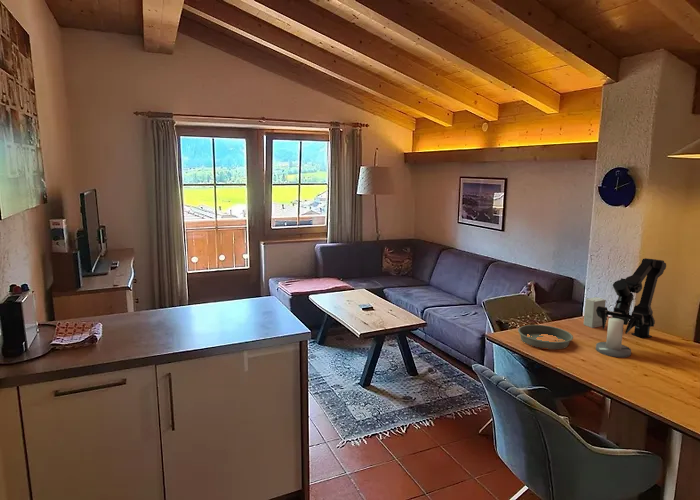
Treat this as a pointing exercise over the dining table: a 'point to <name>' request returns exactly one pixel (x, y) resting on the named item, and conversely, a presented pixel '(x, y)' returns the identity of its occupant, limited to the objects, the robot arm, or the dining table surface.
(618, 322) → the white post
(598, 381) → the dining table surface
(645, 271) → the robot arm
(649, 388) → the dining table surface
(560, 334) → the cake pan
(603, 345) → the slate plinth
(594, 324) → the skincare box
